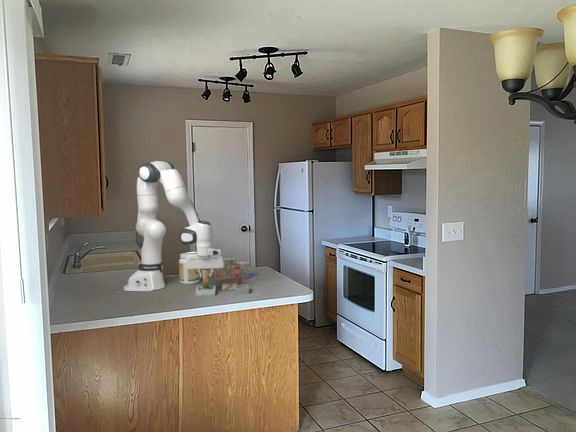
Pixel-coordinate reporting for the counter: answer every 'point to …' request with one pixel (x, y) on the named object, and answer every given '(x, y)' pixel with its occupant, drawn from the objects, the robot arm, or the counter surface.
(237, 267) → the stack of blocks
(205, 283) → the dowel
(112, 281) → the counter surface
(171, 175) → the robot arm
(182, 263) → the supplement tub
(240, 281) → the bench dog
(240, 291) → the collar
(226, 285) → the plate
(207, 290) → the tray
